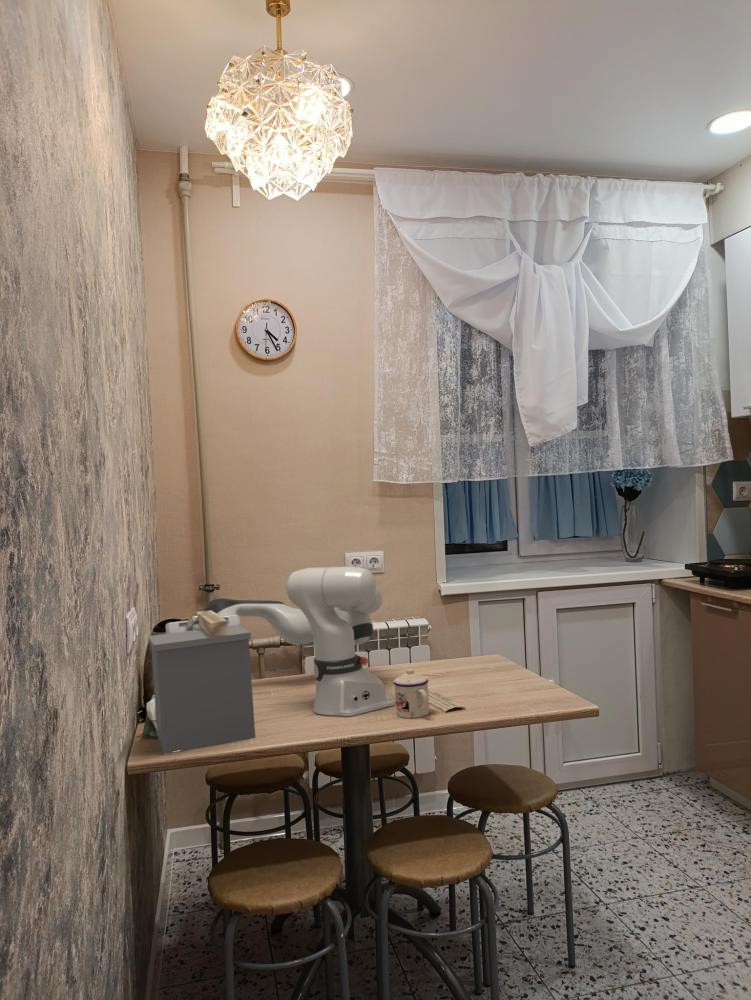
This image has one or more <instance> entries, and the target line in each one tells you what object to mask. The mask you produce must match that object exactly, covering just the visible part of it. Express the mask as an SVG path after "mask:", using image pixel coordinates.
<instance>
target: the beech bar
mask: <svg viewBox="0 0 751 1000" xmlns="http://www.w3.org/2000/svg"><path fill="white" fill-rule="evenodd" d="M196 616H198V619H199V623H198V624H197V625H198V626H199V627H200V628H201V629H203V630H204V631H205V632H206V633H207V634H208V635H209V636H211V637H220V636H227V635H228V624H227V621H226V620H225V619H223V618H222V617H221V616H219V615H218V614H216V613H215V612H213V611H212V610H210V611H203V610H201V611H196Z"/></svg>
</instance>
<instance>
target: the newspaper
mask: <svg viewBox="0 0 751 1000" xmlns="http://www.w3.org/2000/svg"><path fill="white" fill-rule="evenodd" d="M428 697H429V705H430V704H431V705H430V706H432V707H434V708H436V709H437V710H439V711H441V712H442V713H445V714H446V713H447V711H449V710H452V709H456V708H460V709H462V710H466V707H465V706H463V705H461V704H459V703H457V702H455V701H453V700H451V699H449V698H448V697H446V696H444V695H442V694H441V693H438V692H436V691H435V690H432V689H431V688H429V687H428Z"/></svg>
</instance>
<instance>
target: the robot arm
mask: <svg viewBox="0 0 751 1000" xmlns="http://www.w3.org/2000/svg"><path fill="white" fill-rule="evenodd" d="M285 587H286V589H285V590H286V595H287V597H288V599H289V600H290V602H291V603H292V604H293V605H294V606H295V607H291V606H288V605H287V604H285V603H284V602H283V601H278V600H277V601H276V600H254V599H252V600H251V599H249V600H248V599H246V600H245V599H243V600H242V599H241V600H240V599H230V598H216V599H212V600H210V601H209V602H207V604H206V605H205V607H204V608H203V609H202V611H210V610H212V611H213V612H215V613H216V614H218V615H219V616H221V617H222V618H223V619H225V620H226V621H227V624H228V626H232V625H240V626H241V627H242V624H241V618H240V617H259V618H262V619H263V620H265V621H267V622H268V623H269V624H270V625H271V626H272V628H273V629H274V631H275V632H276V633H277V634H278V636H279V637H280V638H281V639H282V640H283V641H284V642H286V643H288V644H290V645H293V646H295V645H297V646H299V645H306V644H311V643H313V646H314V655H315V658H314V659H313V670H314V671H313V673H314V678H315V679H314V680H315V696H314V702H313V707H312V712H314V713H315V714H319V715H322V716H342V717H353V716H356V715H357V716H358V715H360V714H361V715H362V714H364V713H365V714H366V713H369V712H373V711H377V710H380V709H384V708H388V707H392V706H395V705H396V701H395V699H394V697H392V696H391V695H389V694H388V693H386V688H385V685H384V682H383V681H382V680H381V679H380V678H379V677H377V676H376V675H375V674H373V673H371V672H370V671H368V670H367V669H365V668H364V667H363V666H367V665H368V664H369V659H368V658H367V657H365V656H360V655H358V654H356V648H355V647H356V646H359V645H362V644H364V643H366V642H368V641H369V640H370V639H371V638H372V637H373V635H374V626H373V625H374V624H373V622H372V621H371V620H372V619H371V615H372V614H374V613H375V612H378V610H379V609H380V608H381V606H382V603H383V594H382V591H381V590H380V588H379V587H378V586H377V584H376V579H375V577H374V575H373V573H372V572H371V570H369V569H368V568H364V567H360V566H359V567H358V566H347V565H346V566H326V567H325V566H324V567H323V566H322V567H320V566H319V567H318V566H317V567H306V568H302V569H299V570H296V571H295V570H294V571H293V572H292V573H291V574H290V575H289V577H288V579H287V582H286V586H285ZM296 607H297V608H296ZM191 617H192V618H190V619H187V620H180V621H174V622H167V623H166V624H165V634H169V633H177V632H185V631H193V630H201V628H200V627H199V626H198V625H197V624H198V623H199V619H198V616H197V615H193V616H191Z"/></svg>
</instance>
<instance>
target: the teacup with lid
mask: <svg viewBox="0 0 751 1000" xmlns="http://www.w3.org/2000/svg"><path fill="white" fill-rule="evenodd" d="M428 683H429V679H428V677H427V676H425V675H424V674H423V675H422V674H419V673H418V672H415V669H413V668H407V669H406V671H405V673H403V674H401V675H400V676H398V677H395V678H394V679H393V684H394V695H395V696H394V697H395V709H396V716H398V717H400V718H403V719H419V718H422V717H426V716H427V715H430V704H429V697H428V688H429V685H428Z"/></svg>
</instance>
